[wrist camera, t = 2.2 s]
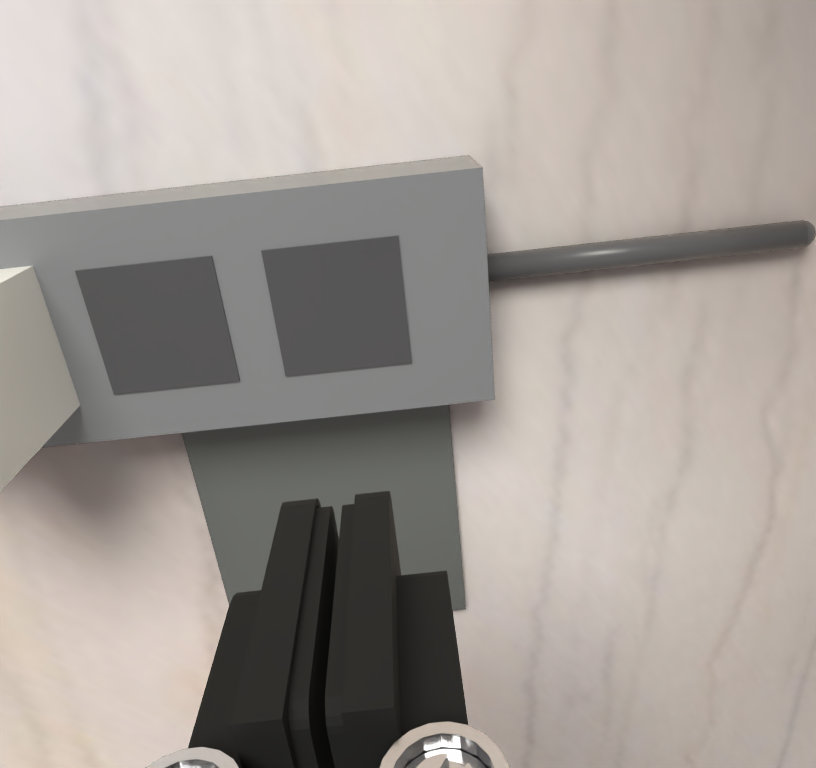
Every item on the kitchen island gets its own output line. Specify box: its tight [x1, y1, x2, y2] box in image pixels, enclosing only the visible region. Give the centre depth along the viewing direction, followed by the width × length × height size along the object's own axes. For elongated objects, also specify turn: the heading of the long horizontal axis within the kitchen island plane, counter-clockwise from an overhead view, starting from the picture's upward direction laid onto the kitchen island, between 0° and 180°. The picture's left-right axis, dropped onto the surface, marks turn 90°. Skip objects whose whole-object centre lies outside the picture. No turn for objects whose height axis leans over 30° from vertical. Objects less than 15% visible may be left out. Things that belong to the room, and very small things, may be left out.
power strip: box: [0, 155, 816, 448], centre depth 24 cm, size 36×8×4 cm, turn 96°
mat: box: [182, 405, 466, 611], centre depth 30 cm, size 11×11×1 cm
